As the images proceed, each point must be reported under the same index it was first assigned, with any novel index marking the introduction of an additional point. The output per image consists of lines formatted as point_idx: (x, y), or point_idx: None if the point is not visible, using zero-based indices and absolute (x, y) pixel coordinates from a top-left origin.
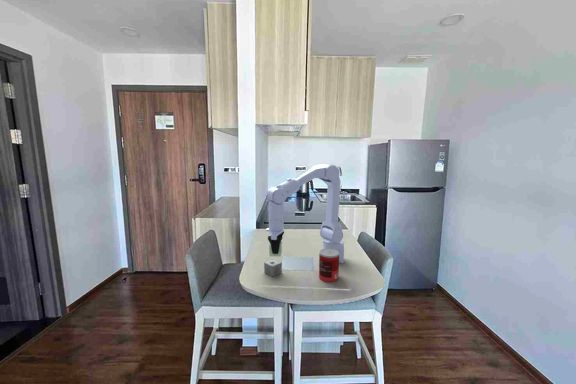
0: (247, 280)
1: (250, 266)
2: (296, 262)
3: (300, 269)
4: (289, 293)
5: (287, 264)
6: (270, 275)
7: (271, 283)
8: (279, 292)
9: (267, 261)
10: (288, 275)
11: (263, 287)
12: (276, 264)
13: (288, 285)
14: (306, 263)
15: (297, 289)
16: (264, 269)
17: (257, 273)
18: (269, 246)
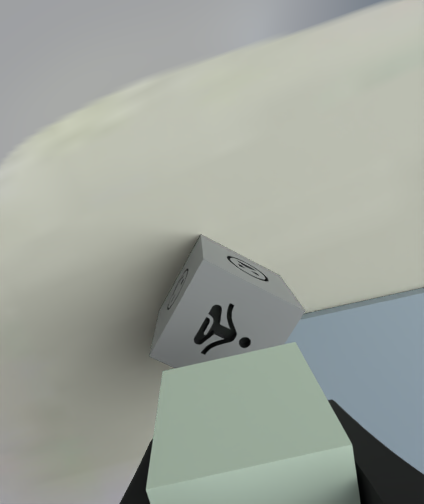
0: (58, 153)
1: (296, 66)
2: (418, 396)
3: None
4: (18, 457)
5: (374, 349)
6: (168, 296)
7: (86, 330)
8: (3, 408)
9: (234, 279)
10: None
11: (15, 301)
12: None
13: (102, 428)
14: (414, 456)
15: (78, 481)
16: (200, 244)
17: (191, 180)
18: (149, 472)
